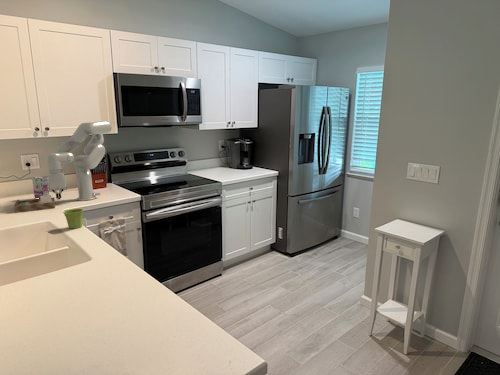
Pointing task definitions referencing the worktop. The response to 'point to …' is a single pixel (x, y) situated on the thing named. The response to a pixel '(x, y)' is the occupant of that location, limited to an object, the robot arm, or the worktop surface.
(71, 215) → the plant pot
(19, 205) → the box
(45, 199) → the cream block
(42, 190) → the candy bar box
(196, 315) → the worktop surface
